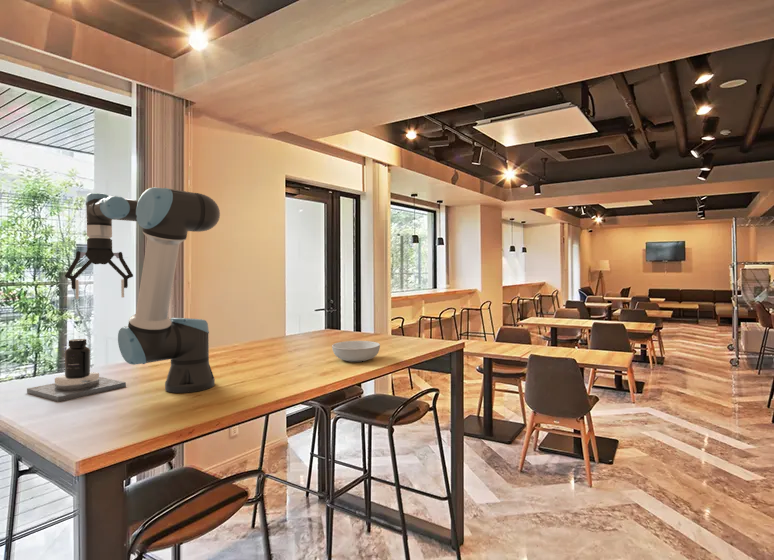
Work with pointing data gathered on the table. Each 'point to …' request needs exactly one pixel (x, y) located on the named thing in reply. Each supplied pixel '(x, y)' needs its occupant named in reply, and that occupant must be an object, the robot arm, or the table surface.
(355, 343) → the serving bowl
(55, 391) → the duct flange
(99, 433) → the table surface
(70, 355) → the supplement bottle
